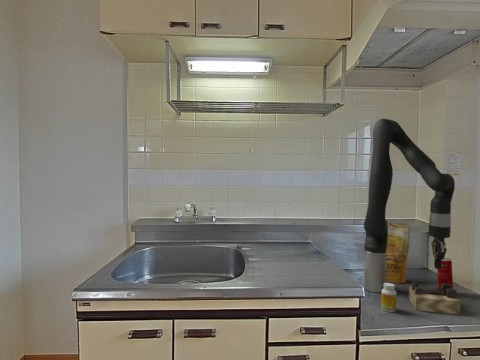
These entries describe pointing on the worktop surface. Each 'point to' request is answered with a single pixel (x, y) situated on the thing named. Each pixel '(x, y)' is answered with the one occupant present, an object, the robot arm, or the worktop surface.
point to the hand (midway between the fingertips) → (437, 268)
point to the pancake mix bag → (397, 252)
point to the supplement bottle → (388, 297)
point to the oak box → (435, 300)
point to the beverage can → (445, 273)
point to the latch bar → (432, 290)
